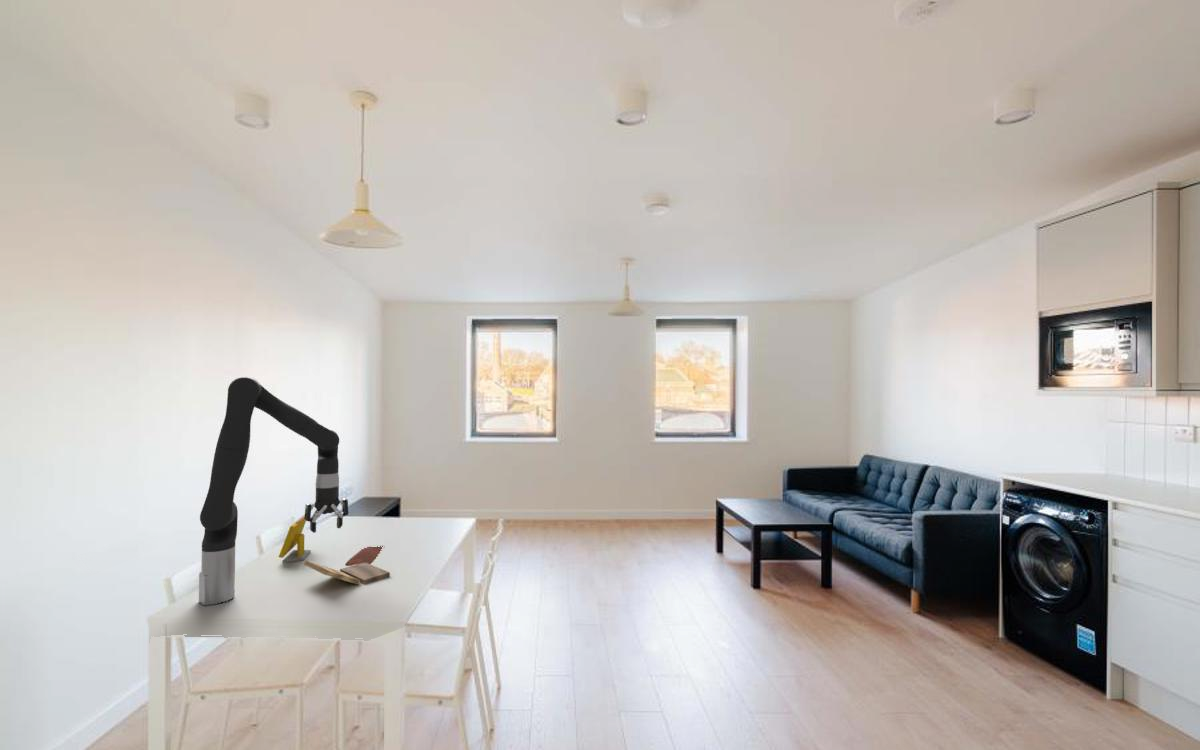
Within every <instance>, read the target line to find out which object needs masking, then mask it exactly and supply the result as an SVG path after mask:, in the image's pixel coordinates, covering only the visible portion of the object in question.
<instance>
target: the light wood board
mask: <svg viewBox="0 0 1200 750" xmlns="http://www.w3.org/2000/svg"><path fill="white" fill-rule="evenodd" d="M303 565H304V566H306V567H308V568H310V569H312V570H314V571H316V572H318V573H320V574H322V575H325V576H328V577H331V578H335V579H338V580H342V581H344V582H349V583H352V584H353V585H360V584H361V583H360V580H358V579H356V578H354V577H352V576H350V575H347V574H345V573H343V572H341V571H340V570H338V569H335V568H332V567H328V566H325V565H322V564H319V563H316V562H313V561H309V560H305V562H304V563H303Z"/></svg>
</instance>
